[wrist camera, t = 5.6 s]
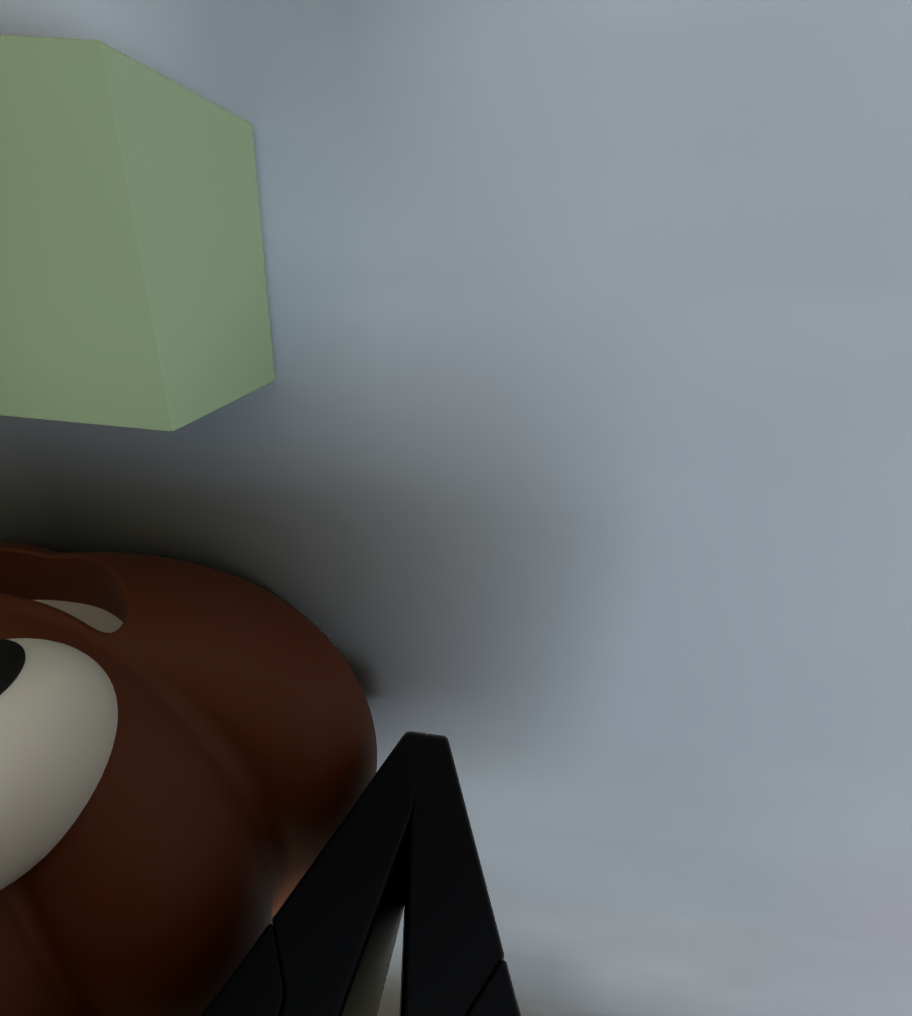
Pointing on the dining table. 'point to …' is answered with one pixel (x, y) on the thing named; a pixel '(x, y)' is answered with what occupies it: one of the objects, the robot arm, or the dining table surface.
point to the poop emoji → (157, 776)
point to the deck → (124, 243)
